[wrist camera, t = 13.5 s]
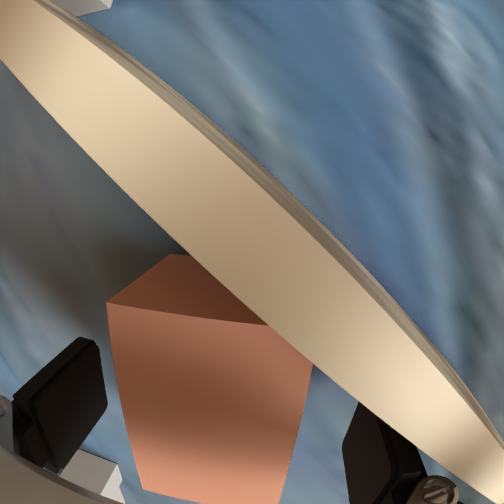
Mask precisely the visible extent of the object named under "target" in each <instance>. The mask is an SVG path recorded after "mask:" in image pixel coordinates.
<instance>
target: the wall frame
mask: <svg viewBox="0 0 504 504" xmlns="http://www.w3.org/2000/svg"><path fill="white" fill-rule="evenodd" d="M50 1H51V2H53V3H55V4H56V5H58V6H60V7H61V8H63V9H65V10H66V11H68V12H70V13H71V14H73V15H75V16H76V17H78V16H82V15H85V14H89V13H93V12H98V11H102V10H107V9H110V8H111V5H112V1H113V0H50ZM59 477H61V478H63V479H65V480H67V481H69V482H72V483H74V484H76V485H78V486H81V487H83V488H85V489H87V490H90V491H92V492H95V493H97V494H100V495H102V496H105V497H107V498H110V499H113V500H115V501H118V502H121V503H124V504H126V503H125V501H124V498H123V496H122V493H121V490H120V488H119V485H120V484H121V482H122V477H121V474H120V471H119V468H118V464H116V463H114V462H111V461H108V460H105V459H103V458H100V457H97V456H95V455H92V454H90V453H87V452H85V451H82V450H80V449H78V450H77V451H76V453H75V454H74V456H73V457H72V459H71V460H70V461H69V463H68V464H67V466H66V467H65V469H64V470H63V471H62V473H61V474H60V476H59Z"/></svg>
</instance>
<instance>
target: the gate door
mask: <svg viewBox="0 0 504 504" xmlns="http://www.w3.org/2000/svg"><path fill="white" fill-rule="evenodd" d="M0 59H1V60H2V61H3V62H4V64H5V65H6V66H7V67H8V68H9V69H10V70H11V72H12V73H13V74H14V75H15V76H16V77H17V78H18V80H19V81H20V82H21V83H22V84H23V85H24V86H25V87H26V88H27V90H28V91H29V92H30V93H31V94H32V95H33V96H34V97H35V98H36V100H37V101H38V102H39V103H40V104H41V105H42V106H43V107H44V108H45V109H46V110H47V112H48V113H49V114H50V115H51V116H52V117H53V118H54V119H55V120H56V121H57V122H58V123H59V124H60V125H61V126H62V128H63V129H64V130H65V131H66V132H67V133H68V134H69V135H70V136H71V137H72V138H73V139H74V140H75V141H76V142H77V143H78V144H79V145H80V146H81V147H82V149H83V150H84V151H85V152H86V153H87V154H88V155H89V156H90V157H91V158H92V159H93V160H94V161H95V162H96V163H97V164H98V165H99V166H100V167H101V168H102V169H103V170H104V171H105V172H106V173H107V174H108V175H109V176H110V177H111V178H112V179H113V180H114V181H115V182H116V183H117V184H118V185H119V186H120V187H121V188H122V189H123V190H124V191H125V192H126V193H127V194H128V195H129V196H130V197H131V198H132V199H133V200H134V201H135V202H136V203H137V204H138V205H139V206H140V207H141V208H142V209H143V210H144V211H145V212H146V213H147V214H148V215H149V216H150V217H152V218H153V219H154V220H155V221H156V222H157V223H158V224H159V225H160V226H161V227H162V228H163V229H164V230H165V231H166V232H167V233H168V234H169V235H170V236H171V237H172V238H173V239H175V240H176V241H177V242H178V243H179V244H180V245H181V246H182V247H183V248H184V249H185V250H186V251H187V252H188V253H189V254H190V255H192V256H193V257H194V258H195V259H196V260H197V261H198V262H199V263H200V264H201V265H202V266H203V267H204V268H206V269H207V270H208V271H209V272H210V273H211V274H212V275H213V276H214V277H215V278H216V279H218V280H219V281H220V282H221V283H222V284H223V285H224V286H225V287H226V288H227V289H229V290H230V291H231V292H232V293H233V294H234V295H235V296H236V297H237V298H239V299H240V300H241V301H242V302H243V303H244V304H245V305H246V306H247V307H249V308H250V309H251V310H252V311H253V312H254V313H255V314H256V315H258V316H259V317H260V318H261V319H262V320H263V321H264V322H266V323H267V324H268V325H269V326H270V327H271V328H272V329H274V330H275V331H276V332H277V333H278V334H279V335H280V336H282V337H283V338H284V339H285V340H286V341H287V342H289V343H290V344H291V345H292V346H293V347H294V348H296V349H297V350H298V351H299V352H300V353H301V354H303V355H304V356H305V357H306V358H307V359H309V360H310V361H311V362H312V363H313V364H314V365H316V366H317V367H318V368H319V369H320V370H322V371H323V372H324V373H325V374H326V375H328V376H329V377H330V378H331V379H332V380H334V381H335V382H336V383H337V384H338V385H340V386H341V387H342V388H343V389H345V390H346V391H347V392H348V393H349V394H351V395H352V396H353V397H354V398H356V399H357V400H358V401H359V402H361V403H362V404H363V405H364V406H366V407H367V408H368V409H369V410H371V411H372V412H373V413H374V414H376V415H377V416H378V417H379V418H381V419H382V420H383V421H384V422H386V423H387V424H388V425H390V426H391V427H392V428H393V429H395V430H396V431H397V432H399V433H400V434H401V435H402V436H404V437H405V438H406V439H408V440H409V441H410V442H412V443H413V444H414V445H415V446H417V447H418V448H419V449H421V450H422V451H423V452H425V453H426V454H427V455H429V456H430V457H431V458H433V459H434V460H435V461H437V462H438V463H440V464H441V465H442V466H444V467H445V468H446V469H448V470H449V471H450V472H452V473H453V474H455V475H456V476H457V477H459V478H460V479H462V480H463V481H464V482H466V483H467V484H469V485H470V486H471V487H473V488H474V489H476V490H477V491H479V492H480V493H482V494H483V495H484V496H486V497H487V498H489V499H490V500H492V501H493V502H495V503H496V504H503V503H504V441H503V440H502V438H501V437H500V435H499V434H498V432H497V430H496V429H495V427H494V426H493V424H492V423H491V421H490V420H489V418H488V417H487V415H486V414H485V412H484V411H483V409H482V408H481V406H480V405H479V404H478V402H477V401H476V399H475V398H474V396H473V395H472V394H471V392H470V391H469V389H468V388H467V387H466V385H465V384H464V382H463V381H462V380H461V378H460V377H459V376H458V374H457V373H456V372H455V371H454V369H453V368H452V367H451V366H450V364H449V363H448V362H447V361H446V359H445V358H444V357H443V356H442V355H441V353H440V352H439V351H438V350H437V349H436V347H435V346H434V345H433V344H432V343H431V341H430V340H429V339H428V338H427V337H426V336H425V334H424V333H423V332H422V331H421V330H420V328H419V327H418V326H417V325H416V324H415V323H414V322H413V320H412V319H411V318H410V317H409V316H408V315H407V314H406V312H405V311H404V310H403V309H402V308H401V307H400V306H399V305H398V303H397V302H396V301H395V300H394V299H393V298H392V297H391V296H390V294H389V293H388V292H387V291H386V290H385V289H384V288H383V287H382V286H381V285H380V284H379V282H378V281H377V280H376V279H375V278H374V277H373V276H372V275H371V274H370V273H369V272H368V271H367V270H366V268H365V267H364V266H363V265H362V264H361V263H360V262H359V261H358V260H357V259H356V258H355V257H354V256H353V255H352V254H351V253H350V252H349V251H348V250H347V248H346V247H345V246H344V245H343V244H342V243H341V242H340V241H339V240H338V239H337V238H336V237H335V236H334V235H333V234H332V233H331V232H330V231H329V230H328V229H327V228H326V227H325V226H324V225H323V224H322V223H321V222H320V221H319V220H318V219H317V218H316V217H315V216H314V215H313V214H312V213H311V212H310V211H309V210H308V209H307V208H306V207H305V206H304V205H303V204H302V203H301V202H300V201H299V200H298V199H297V198H296V197H294V196H293V195H292V194H291V193H290V192H289V191H288V190H287V189H286V188H285V187H284V186H283V185H282V184H281V183H280V182H279V181H278V180H277V179H276V178H274V177H273V176H272V175H271V174H270V173H269V172H268V171H267V170H266V169H265V168H264V167H263V166H262V165H260V164H259V163H258V162H257V161H256V160H255V159H254V158H253V157H252V156H251V155H250V154H248V153H247V152H246V151H245V150H244V149H243V148H242V147H241V146H240V145H238V144H237V143H236V142H235V141H234V140H233V139H232V138H231V137H229V136H228V135H227V134H226V133H225V132H224V131H223V130H221V129H220V128H219V127H218V126H217V125H216V124H215V123H213V122H212V121H211V120H210V119H209V118H208V117H206V116H205V115H204V114H203V113H202V112H200V111H199V110H198V109H197V108H196V107H195V106H193V105H192V104H191V103H190V102H189V101H187V100H186V99H185V98H184V97H183V96H181V95H180V94H179V93H178V92H176V91H175V90H174V89H173V88H172V87H170V86H169V85H168V84H167V83H165V82H164V81H163V80H162V79H160V78H159V77H158V76H157V75H155V74H154V73H153V72H152V71H150V70H149V69H148V68H146V67H145V66H144V65H143V64H141V63H140V62H139V61H137V60H136V59H135V58H133V57H132V56H131V55H130V54H128V53H127V52H126V51H124V50H123V49H122V48H120V47H119V46H118V45H116V44H115V43H113V42H112V41H111V40H109V39H108V38H107V37H105V36H104V35H102V34H101V33H100V32H98V31H97V30H96V29H94V28H93V27H91V26H90V25H88V24H87V23H85V22H84V21H83V20H81V19H79V18H78V17H76V16H75V15H73V14H71V13H70V12H68V11H66V10H65V9H63V8H61V7H60V6H58V5H56V4H55V3H53V2H51V1H50V0H0Z"/></svg>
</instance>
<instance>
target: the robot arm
mask: <svg viewBox="0 0 504 504" xmlns="http://www.w3.org/2000/svg"><path fill="white" fill-rule="evenodd" d="M13 398H14V400H13V401H11V402H10V400H9V399H7V398H6V397H4V396H1V395H0V504H124V503H121V502H118V501H115V500H113V499H110V498H107V497H105V496H102V495H100V494H97V493H95V492H92V491H90V490H87V489H85V488H83V487H81V486H78V485H76V484H74V483H72V482H69V481H67V480H65V479H63V478H61V477H59V476H57V475H55V474H53V473H51V472H49V471H47V470H45V469H43V467H44V468H46V469H48V470H50V471H52V472H54V473H56V474H57V473H58V471H59V470H60V469H61V468H65V467H66V466H67V464H68V463H69V461H70V460H71V459H72V457H73V456H74V454H75V453H76V451H77V450H78V449H79V447H80V446H81V444H82V443H83V441H84V440H85V439H86V437H87V436H88V434H89V433H90V432H91V430H92V429H93V427H94V426H95V425H96V423H97V422H98V420H99V419H100V418H101V416H102V415H103V413H104V412H105V410H106V408H107V404H108V402H107V396H106V390H105V385H104V378H103V372H102V366H101V359H100V351H99V347H98V346H97V345H96V343H95V342H94V341H93V340H90V339H87V338H83V337H78V338H77V339H76V340H74V341H73V342H72V343H71V344H70V345H69V346H67V347H66V348H65V349H64V350H63V351H62V352H61V353H59V354H58V355H57V356H56V357H55V358H54V359H53V360H51V361H50V362H49V363H48V364H47V365H46V366H45V367H44V368H42V369H41V370H40V371H39V372H38V373H37V374H36V375H35V376H33V377H32V378H31V379H30V380H29V381H28V382H27V383H26V384H25V385H23V386H22V387H21V388H20V389H19V390H18V391H17V392H16V393H15V394H14V395H13ZM342 453H343V460H344V466H345V473H346V480H347V487H348V494H349V502H350V504H464V503H461V502H459V501H458V498H459V492H458V488H457V487H456V485H455V484H454V483H453V482H452V481H451V480H450V479H448V478H446V477H443V476H437V475H432V476H427V473H426V470H425V468H424V465H423V462H422V460H421V457H420V455H419V452H418V449H417V447H416V446H415V445H414V444H413V443H412V442H410V441H409V440H408V439H406V438H405V437H404V436H402V435H401V434H400V433H399V432H397V431H396V430H395V429H393V428H392V427H391V426H390V425H388V424H387V423H386V422H384V421H383V420H382V419H381V418H379V417H378V416H377V415H376V414H374V413H373V412H372V411H371V410H369V409H368V408H367V407H366V406H364V405H363V404H362V403H361V402H359V403H358V405H357V408H356V410H355V413H354V416H353V418H352V421H351V423H350V426H349V428H348V431H347V433H346V436H345V438H344V440H343V444H342Z"/></svg>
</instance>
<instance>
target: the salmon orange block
mask: <svg viewBox="0 0 504 504" xmlns="http://www.w3.org/2000/svg"><path fill="white" fill-rule="evenodd" d="M106 306H107V316H108V325H109V333H110V341H111V348H112V355H113V362H114V368H115V374H116V380H117V386H118V391H119V396H120V401H121V406H122V411H123V415H124V420H125V424H126V429H127V433H128V437H129V441H130V445H131V449H132V453H133V456H134V460H135V464H136V467H137V471H138V474H139V477H140V481H141V484H142V487H143V489H144V490H148V491H151V492H155V493H159V494H163V495H167V496H171V497H175V498H179V499H184V500H189V501H193V502H199V503H204V504H278V503H279V500H280V497H281V493H282V490H283V486H284V483H285V479H286V476H287V472H288V469H289V465H290V461H291V457H292V454H293V450H294V446H295V442H296V438H297V434H298V430H299V426H300V422H301V418H302V413H303V409H304V405H305V400H306V396H307V391H308V387H309V382H310V377H311V372H312V368H313V363H312V362H311V361H310V360H309V359H307V358H306V357H305V356H304V355H303V354H301V353H300V352H299V351H298V350H297V349H296V348H294V347H293V346H292V345H291V344H290V343H289V342H287V341H286V340H285V339H284V338H283V337H282V336H280V335H279V334H278V333H277V332H276V331H275V330H274V329H272V328H271V327H270V326H269V325H268V324H267V323H266V322H264V321H263V320H262V319H261V318H260V317H259V316H258V315H256V314H255V313H254V312H253V311H252V310H251V309H250V308H249V307H247V306H246V305H245V304H244V303H243V302H242V301H241V300H240V299H239V298H237V297H236V296H235V295H234V294H233V293H232V292H231V291H230V290H229V289H227V288H226V287H225V286H224V285H223V284H222V283H221V282H220V281H219V280H218V279H216V278H215V277H214V276H213V275H212V274H211V273H210V272H209V271H208V270H207V269H206V268H204V267H203V266H202V265H201V264H200V263H199V262H198V261H197V260H196V259H195V258H194V257H193V256H189V255H179V254H169V255H168V256H167V257H165V258H164V259H162V260H161V261H160V262H158V263H157V264H156V265H154V266H153V267H152V268H150V269H149V270H148V271H146V272H145V273H144V274H142V275H141V276H140V277H138V278H137V279H136V280H134V281H133V282H132V283H131V284H129V285H128V286H127V287H125V288H124V289H123V290H121V291H120V292H119V293H117V294H116V295H115V296H114V297H112V298H111V299H110V300H108V301H107V302H106Z"/></svg>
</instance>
